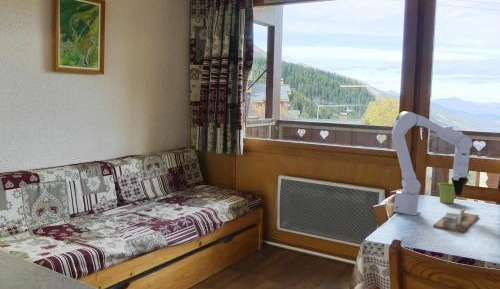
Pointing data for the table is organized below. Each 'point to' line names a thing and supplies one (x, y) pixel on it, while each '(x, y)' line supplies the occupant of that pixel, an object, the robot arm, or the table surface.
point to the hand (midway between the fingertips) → (458, 194)
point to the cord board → (461, 225)
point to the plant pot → (446, 192)
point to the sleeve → (455, 215)
